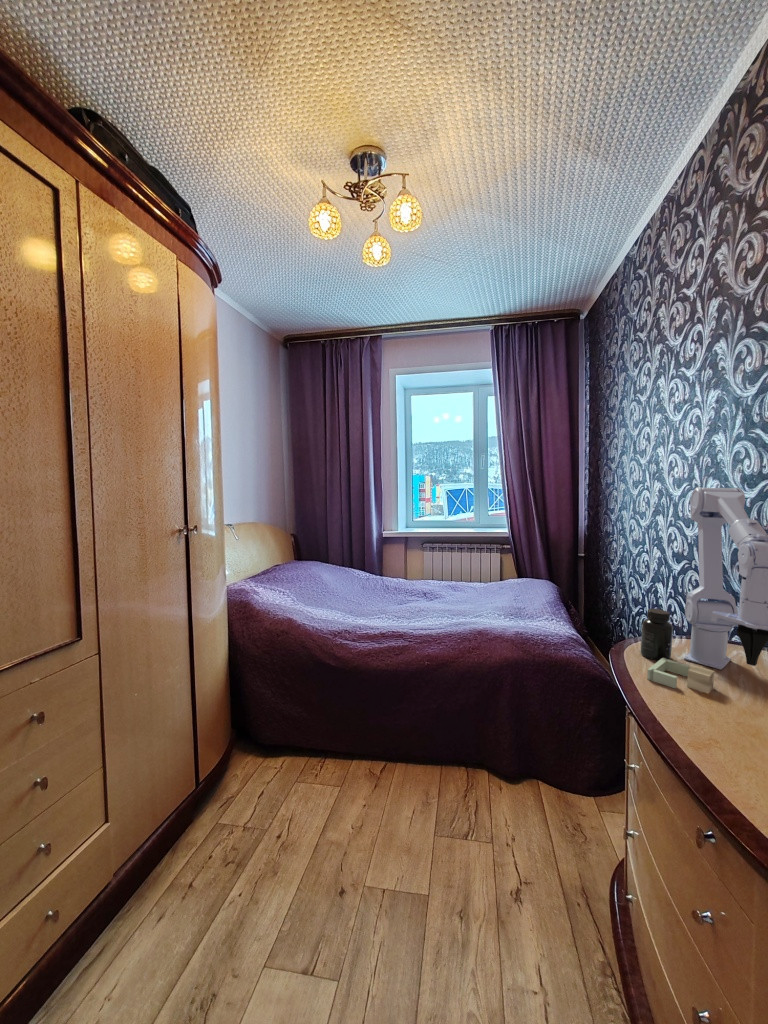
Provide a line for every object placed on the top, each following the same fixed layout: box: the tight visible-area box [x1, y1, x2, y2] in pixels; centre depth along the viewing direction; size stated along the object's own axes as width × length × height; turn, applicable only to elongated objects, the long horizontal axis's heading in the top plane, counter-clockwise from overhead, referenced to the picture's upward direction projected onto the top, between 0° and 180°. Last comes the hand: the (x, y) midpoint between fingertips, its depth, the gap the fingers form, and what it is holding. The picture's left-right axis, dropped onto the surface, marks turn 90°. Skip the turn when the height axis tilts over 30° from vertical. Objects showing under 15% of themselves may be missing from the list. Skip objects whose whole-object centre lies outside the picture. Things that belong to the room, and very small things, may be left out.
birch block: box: [686, 664, 715, 695], centre depth 100 cm, size 4×4×4 cm
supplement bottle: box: [640, 608, 674, 662], centre depth 116 cm, size 7×7×12 cm
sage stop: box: [646, 658, 690, 689], centre depth 104 cm, size 10×6×2 cm, turn 131°
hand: (751, 663), depth 93 cm, fingers closed
